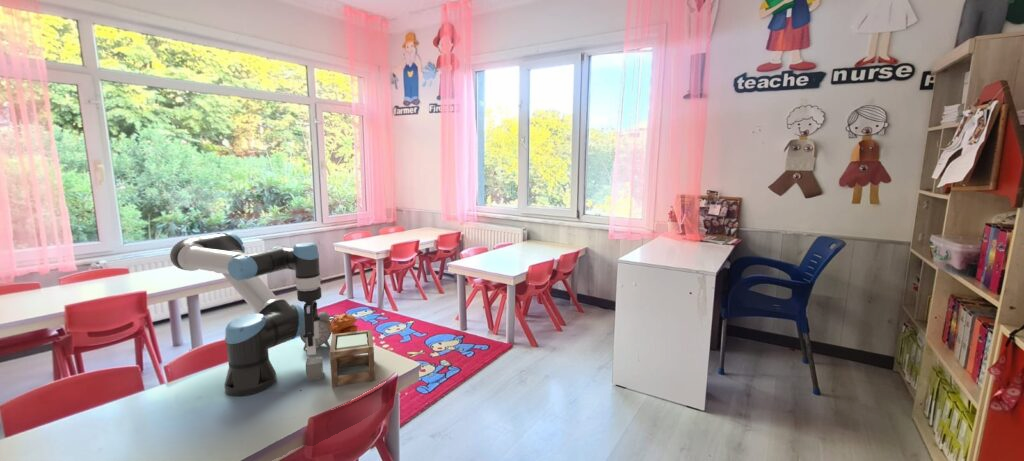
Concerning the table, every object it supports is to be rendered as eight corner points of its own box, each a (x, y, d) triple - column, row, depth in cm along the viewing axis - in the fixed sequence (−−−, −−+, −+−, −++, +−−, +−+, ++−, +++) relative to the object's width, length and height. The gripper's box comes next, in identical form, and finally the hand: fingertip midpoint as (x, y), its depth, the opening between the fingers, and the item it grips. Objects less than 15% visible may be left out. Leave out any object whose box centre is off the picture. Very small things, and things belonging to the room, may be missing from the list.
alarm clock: (300, 351, 171) (297, 316, 169) (304, 344, 178) (301, 310, 175) (331, 348, 174) (329, 313, 172) (334, 342, 181) (332, 308, 178)
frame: (331, 387, 145) (329, 352, 143) (334, 365, 160) (331, 334, 158) (375, 380, 150) (373, 346, 148) (373, 360, 165) (371, 329, 163)
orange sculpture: (354, 363, 162) (351, 318, 159) (325, 362, 162) (322, 317, 159) (364, 350, 173) (362, 307, 170) (338, 349, 173) (335, 307, 170)
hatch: (336, 350, 148) (336, 348, 147) (337, 339, 157) (337, 336, 157) (367, 346, 151) (367, 344, 151) (367, 335, 161) (366, 333, 161)
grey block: (306, 380, 149) (305, 364, 148) (308, 374, 154) (306, 358, 153) (322, 378, 151) (321, 362, 150) (323, 372, 155) (322, 356, 154)
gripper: (318, 297, 137) (322, 359, 140) (323, 277, 160) (327, 331, 163) (291, 300, 134) (297, 363, 137) (301, 279, 157) (305, 334, 161)
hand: (313, 346), depth 150 cm, fingers open, 13 cm apart
